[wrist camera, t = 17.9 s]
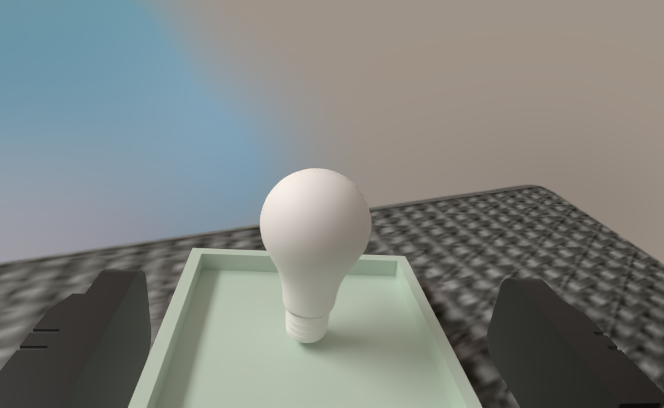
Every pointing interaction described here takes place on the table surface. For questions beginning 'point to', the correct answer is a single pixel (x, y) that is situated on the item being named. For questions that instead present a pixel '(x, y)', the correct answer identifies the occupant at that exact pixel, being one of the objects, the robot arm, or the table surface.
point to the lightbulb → (313, 243)
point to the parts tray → (295, 357)
